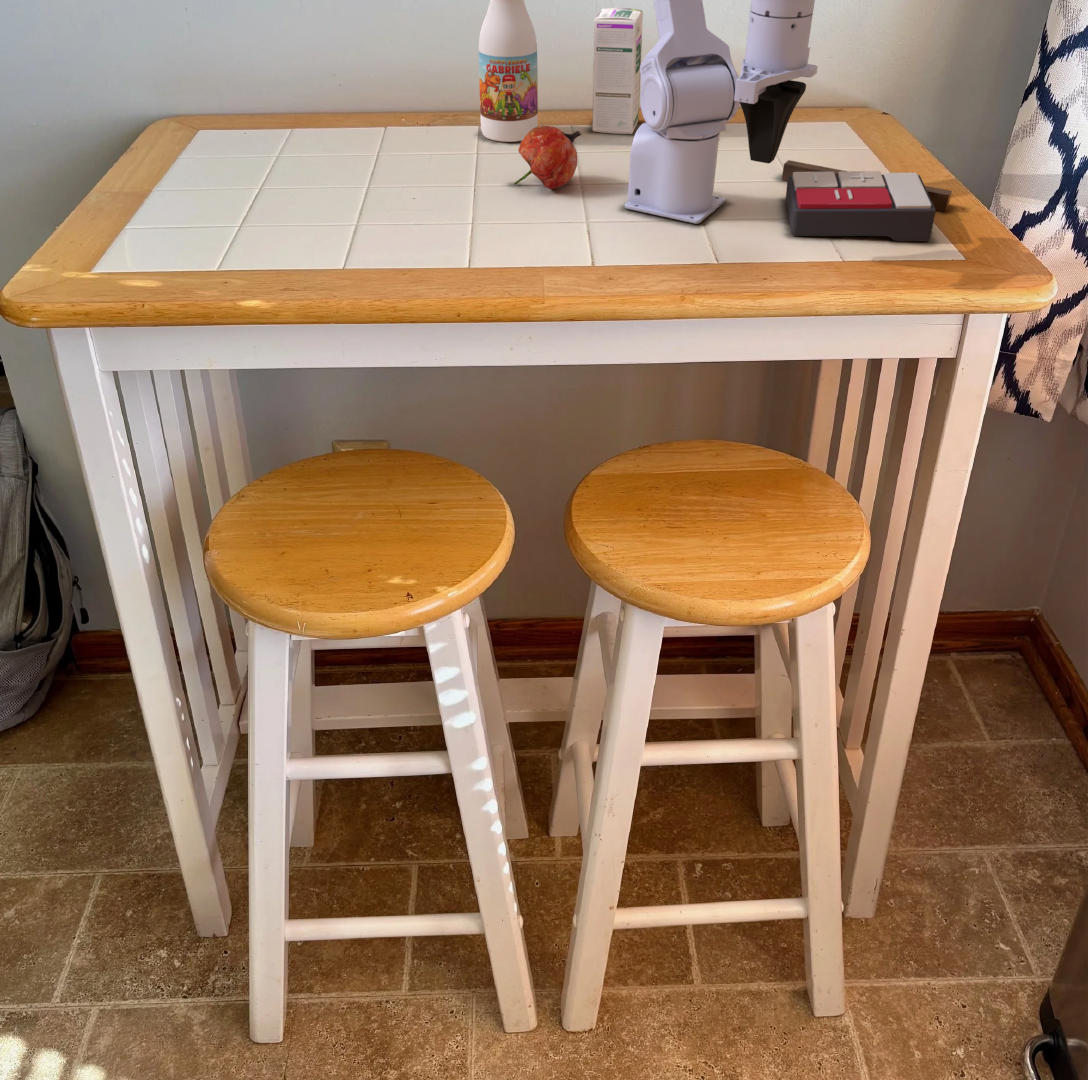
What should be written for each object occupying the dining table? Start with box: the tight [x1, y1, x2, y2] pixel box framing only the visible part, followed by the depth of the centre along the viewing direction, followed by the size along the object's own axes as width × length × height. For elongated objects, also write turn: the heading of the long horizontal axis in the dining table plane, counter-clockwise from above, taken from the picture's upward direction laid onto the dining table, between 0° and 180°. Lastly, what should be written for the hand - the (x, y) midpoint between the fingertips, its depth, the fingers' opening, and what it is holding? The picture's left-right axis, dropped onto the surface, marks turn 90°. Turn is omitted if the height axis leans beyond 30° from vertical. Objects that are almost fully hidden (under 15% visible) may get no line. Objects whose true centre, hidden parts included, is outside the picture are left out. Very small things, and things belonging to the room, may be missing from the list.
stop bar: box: [781, 159, 953, 212], centre depth 125 cm, size 20×2×2 cm, turn 60°
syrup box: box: [591, 7, 644, 135], centre depth 140 cm, size 6×6×14 cm
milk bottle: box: [478, 0, 539, 143], centre depth 136 cm, size 8×8×20 cm
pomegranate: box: [513, 124, 583, 190], centre depth 125 cm, size 7×7×10 cm
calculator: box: [785, 170, 937, 242], centre depth 118 cm, size 11×4×15 cm
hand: (762, 160), depth 105 cm, fingers closed
